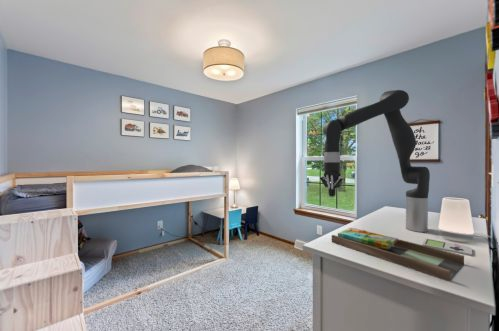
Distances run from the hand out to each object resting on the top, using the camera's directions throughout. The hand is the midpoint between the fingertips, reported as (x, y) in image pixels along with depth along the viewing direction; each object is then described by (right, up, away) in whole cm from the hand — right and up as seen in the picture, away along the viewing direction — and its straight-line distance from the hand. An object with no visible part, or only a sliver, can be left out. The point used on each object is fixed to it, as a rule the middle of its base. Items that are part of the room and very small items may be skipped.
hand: (331, 196), depth 108 cm
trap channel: (+15, -19, -21) cm, 32 cm away
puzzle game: (+10, -19, -14) cm, 25 cm away
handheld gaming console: (+42, -20, -17) cm, 49 cm away
